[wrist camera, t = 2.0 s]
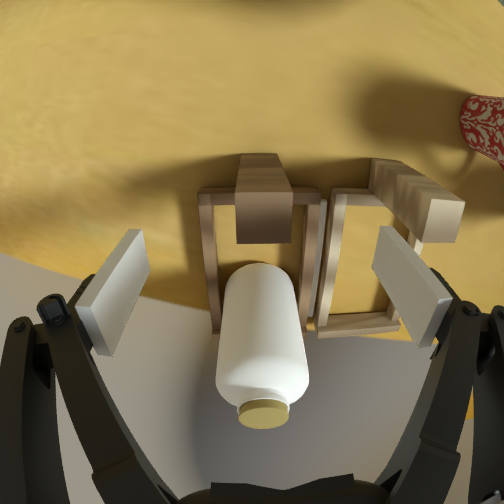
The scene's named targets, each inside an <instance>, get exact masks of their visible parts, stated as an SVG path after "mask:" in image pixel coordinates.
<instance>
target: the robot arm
mask: <svg viewBox="0 0 504 504" xmlns="http://www.w3.org/2000/svg"><path fill="white" fill-rule="evenodd" d="M498 1H499V2H500V3H501V5H502V6H503V7H504V0H498ZM372 269H373V271H374V272H375V274H376V275H377V277H378V279H379V280H380V282H381V284H382V286H383V287H384V289H385V291H386V292H387V294H388V296H389V298H390V299H391V301H392V303H393V305H394V306H395V308H396V310H397V312H398V314H399V315H400V317H401V319H402V321H403V323H404V324H405V326H406V328H407V330H408V332H409V334H410V336H411V338H412V340H413V342H414V343H415V345H416V347H417V348H422V347H427V346H431V344H432V342H433V340H434V338H435V336H436V338H437V340H438V341H439V343H438V345H437V346H436V348H435V350H434V352H433V354H432V356H431V357H430V359H432V362H431V365H430V368H429V371H428V374H427V376H426V379H425V382H424V385H423V388H422V390H421V393H420V396H419V398H418V400H417V403H416V406H415V408H414V410H413V413H412V415H411V417H410V420H409V422H408V424H407V426H406V428H405V431H404V433H403V435H402V437H401V439H400V441H399V443H398V445H397V447H396V449H395V451H394V453H393V455H392V457H391V459H390V461H389V462H388V465H387V466H386V468H385V469H384V471H383V472H382V473H381V475H380V476H379V477H378V478H377V480H376V481H375V482H374V484H373V483H370V482H366V481H361V480H354V477H353V473H352V474H347V475H341V476H335V477H328V478H322V479H318V480H315V481H312V482H309V483H306V484H303V485H300V486H297V487H294V488H291V489H287V490H278V489H272V488H266V487H261V486H256V485H251V484H244V483H243V484H241V483H239V484H238V483H213V482H212V483H211V488H210V489H205V490H201V491H197V492H194V493H192V494H189V495H187V496H185V497H183V498H181V499H180V500H179V499H178V498H177V497H176V496H175V495H174V493H173V492H172V491H171V490H170V489H169V487H168V486H167V485H166V484H165V483H164V481H163V480H162V479H161V478H160V476H159V475H158V473H157V472H156V470H155V469H154V468H153V466H152V465H151V463H150V462H149V460H148V459H147V457H146V456H145V454H144V453H143V451H142V450H141V448H140V446H139V445H138V443H137V442H136V440H135V438H134V437H133V435H132V434H131V432H130V430H129V428H128V427H127V425H126V423H125V422H124V420H123V418H122V416H121V415H120V413H119V411H118V409H117V407H116V405H115V403H114V401H113V399H112V398H111V396H110V394H109V392H108V390H107V388H106V386H105V384H104V382H103V380H102V377H101V375H100V373H99V371H98V369H97V367H96V364H95V362H94V360H93V357H92V355H91V354H90V351H91V349H92V346H93V347H94V349H95V351H96V352H97V354H98V355H104V356H113V354H114V352H115V349H116V347H117V344H118V342H119V339H120V337H121V335H122V332H123V330H124V328H125V326H126V323H127V321H128V319H129V316H130V314H131V312H132V310H133V307H134V305H135V303H136V301H137V299H138V297H139V294H140V292H141V290H142V288H143V286H144V284H145V282H146V280H147V278H148V275H149V273H150V267H149V262H148V257H147V253H146V248H145V243H144V238H143V232H142V229H129V230H128V232H127V233H126V234H125V236H124V237H123V238H122V239H121V241H120V242H119V243H118V245H117V246H116V247H115V249H114V250H113V251H112V253H111V254H110V255H109V257H108V258H107V260H106V261H105V262H104V264H103V265H102V266H101V268H100V269H99V271H98V272H97V273H96V274H91V275H90V276H89V277H87V278H86V279H85V280H84V281H83V282H82V284H81V285H80V286H79V288H78V289H77V291H76V292H75V294H74V295H73V297H72V298H71V299H70V301H69V302H68V304H66V302H65V299H64V297H63V296H62V295H60V294H51V295H48V296H46V297H45V298H43V299H42V300H41V301H40V302H39V303H38V305H37V312H38V313H39V316H40V317H41V319H42V321H43V323H42V324H36V325H33V323H32V321H31V320H30V319H29V317H26V316H24V317H20V318H17V319H16V320H14V321H13V322H12V323H11V324H10V326H9V328H8V331H7V336H6V340H5V345H4V349H3V354H2V359H1V365H0V504H70V501H69V497H68V492H67V487H66V482H65V477H64V471H63V466H62V459H61V453H60V444H59V436H58V425H57V414H56V412H57V411H56V388H55V387H56V386H55V372H56V375H57V379H58V382H59V385H60V389H61V391H62V395H63V398H64V401H65V404H66V407H67V409H68V412H69V415H70V418H71V420H72V423H73V425H74V428H75V430H76V433H77V435H78V438H79V440H80V442H81V445H82V447H83V449H84V451H85V454H86V456H87V458H88V460H89V462H90V464H91V466H92V469H93V474H92V480H93V482H94V484H95V486H96V488H97V490H98V492H99V494H100V496H101V497H102V499H103V501H104V503H105V504H443V503H444V501H445V498H446V496H447V494H448V491H449V489H450V486H451V484H452V481H453V479H454V476H455V473H456V470H457V468H458V465H459V462H460V453H458V452H457V451H456V449H457V445H458V441H459V438H460V435H461V432H462V428H463V424H464V421H465V417H466V413H467V409H468V405H469V400H470V395H471V391H472V385H473V399H474V438H473V456H472V467H471V476H470V484H469V494H468V504H504V307H503V306H499V305H497V306H494V308H493V310H492V312H491V314H487V313H481V311H480V310H479V308H478V307H477V306H476V305H475V304H473V303H471V302H469V301H461V299H460V298H459V297H458V295H457V294H456V293H455V292H454V290H453V289H452V288H451V287H450V286H449V284H448V283H447V282H446V281H445V279H444V278H443V277H442V276H441V274H440V273H438V272H437V271H436V270H434V269H433V268H429V267H428V266H427V265H426V264H425V263H424V261H423V260H422V259H421V258H420V257H419V256H418V254H417V253H416V252H415V251H414V250H413V249H412V247H411V246H410V245H409V244H408V243H407V242H406V241H405V240H404V239H403V237H402V236H401V235H400V234H399V233H398V232H397V231H396V230H395V229H394V228H393V227H392V226H380V230H379V235H378V240H377V245H376V250H375V255H374V260H373V264H372Z"/></svg>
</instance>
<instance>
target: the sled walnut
mask: <svg viewBox="0 0 504 504" xmlns="http://www.w3.org/2000/svg"><path fill="white" fill-rule="evenodd" d="M197 195H198V206H199V217H200V227H201V237H202V247H203V256H204V265H205V274H206V282H207V290H208V298H209V306H210V313H211V321H212V327H213V329H212V338H213V340H220V334H221V324H222V315H223V313H222V303H221V293H220V282H219V271H218V259H217V247H216V234H215V221H214V207H213V205H235V212H236V237H237V244H274V243H291V227H292V206H293V204H305V211H304V225H303V239H302V251H301V263H300V274H299V285H298V295H297V310H298V315H299V321H300V326H301V332H302V337H303V339H306V336H307V329H306V324H307V317H308V310H309V303H310V296H311V288H312V281H313V273H314V264H315V255H316V246H317V237H318V227H319V216H320V205H321V192H320V190H319V189H318V187H291V186H290V184H289V181H288V179H287V176H286V174H285V171H284V169H283V167H282V164H281V162H280V160H279V157H278V155H277V154H241V158H240V164H239V170H238V176H237V182H236V187H212V188H200V190H199V192H198V194H197Z"/></svg>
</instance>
